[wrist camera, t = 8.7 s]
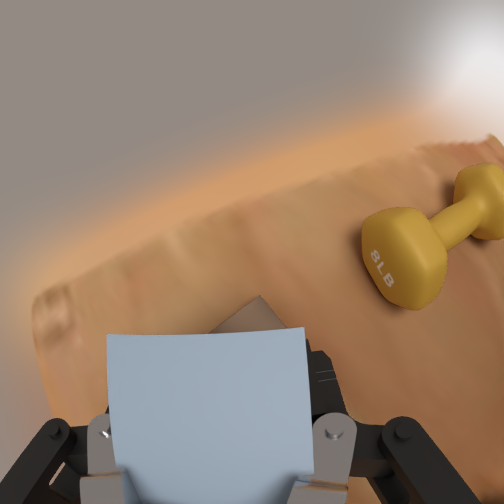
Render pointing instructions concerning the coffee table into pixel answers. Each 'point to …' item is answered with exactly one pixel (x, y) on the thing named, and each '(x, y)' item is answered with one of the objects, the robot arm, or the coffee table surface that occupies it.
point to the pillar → (211, 415)
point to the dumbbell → (431, 237)
